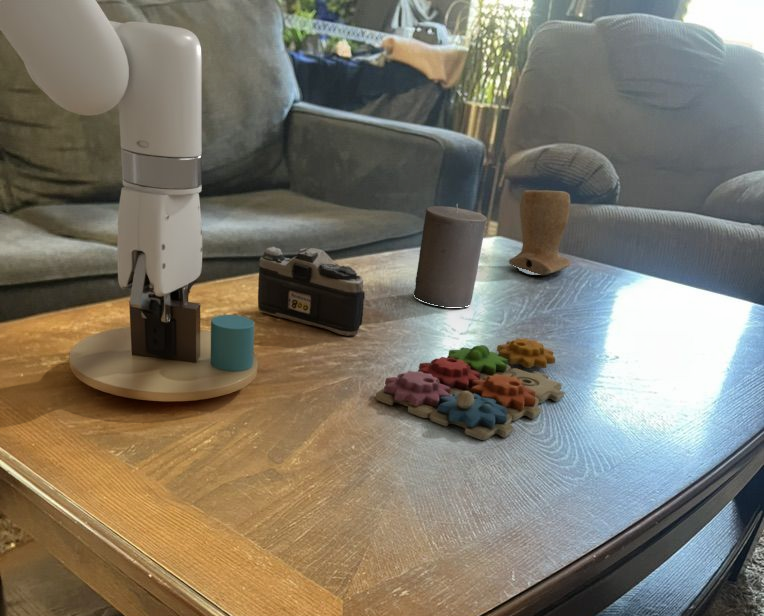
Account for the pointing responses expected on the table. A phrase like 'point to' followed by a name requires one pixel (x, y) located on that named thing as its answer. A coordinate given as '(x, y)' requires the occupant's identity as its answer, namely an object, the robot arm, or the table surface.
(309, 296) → the camera
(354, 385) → the table surface
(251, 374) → the tray
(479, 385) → the gear puzzle
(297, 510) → the table surface
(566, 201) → the brown flared block
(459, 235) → the pillar candle
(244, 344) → the teal cylinder block
